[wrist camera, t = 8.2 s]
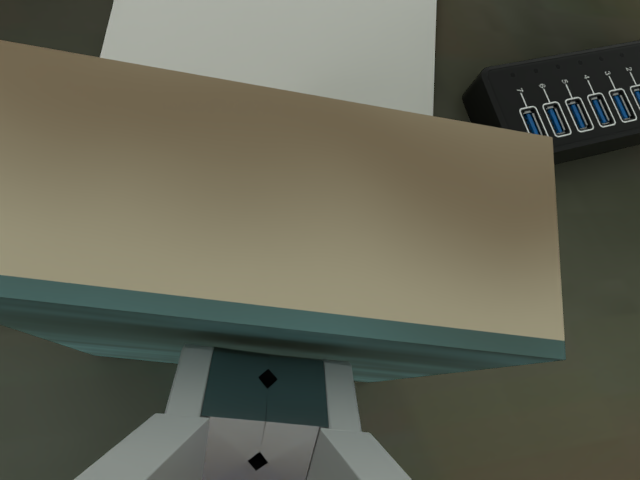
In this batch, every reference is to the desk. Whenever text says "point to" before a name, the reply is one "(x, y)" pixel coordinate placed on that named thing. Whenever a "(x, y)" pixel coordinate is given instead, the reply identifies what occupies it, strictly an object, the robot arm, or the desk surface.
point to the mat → (288, 45)
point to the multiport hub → (565, 99)
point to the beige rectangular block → (268, 223)
